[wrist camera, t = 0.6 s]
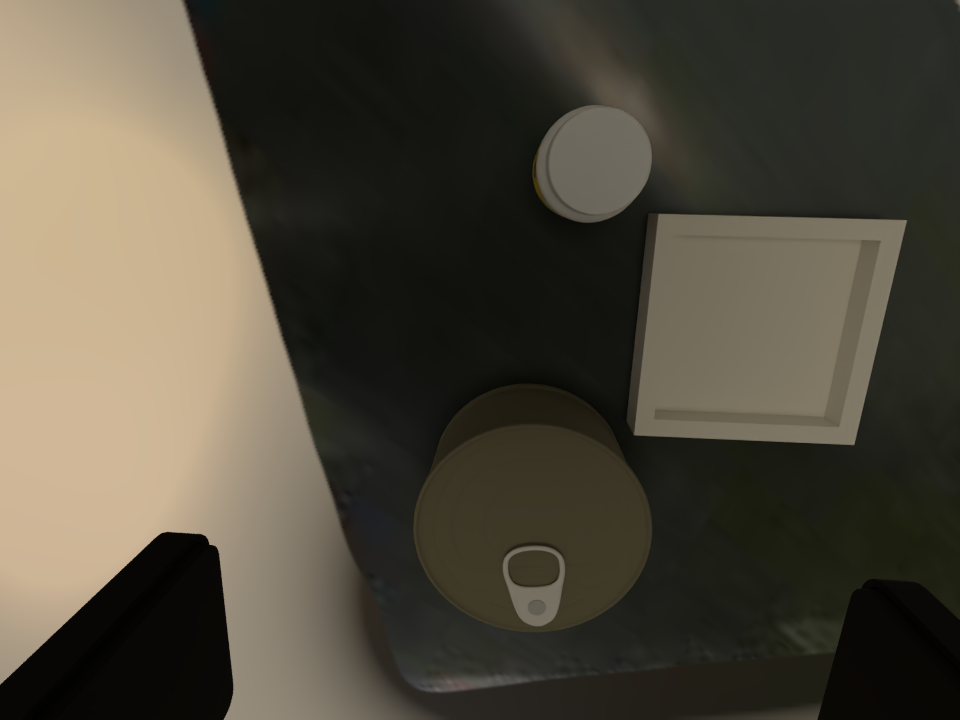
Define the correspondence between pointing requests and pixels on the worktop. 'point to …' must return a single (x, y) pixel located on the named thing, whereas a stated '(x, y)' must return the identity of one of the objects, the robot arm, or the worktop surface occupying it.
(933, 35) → the worktop surface
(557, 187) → the supplement bottle
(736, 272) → the tray
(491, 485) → the can
